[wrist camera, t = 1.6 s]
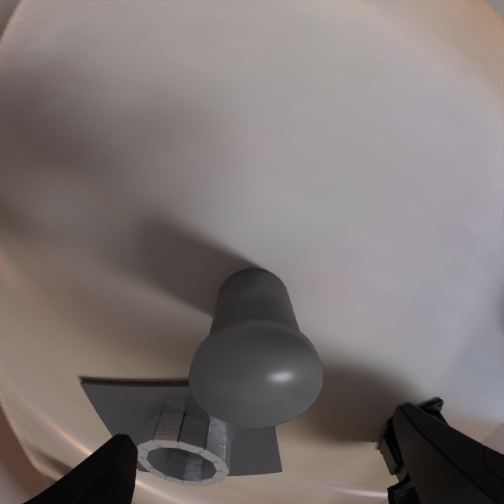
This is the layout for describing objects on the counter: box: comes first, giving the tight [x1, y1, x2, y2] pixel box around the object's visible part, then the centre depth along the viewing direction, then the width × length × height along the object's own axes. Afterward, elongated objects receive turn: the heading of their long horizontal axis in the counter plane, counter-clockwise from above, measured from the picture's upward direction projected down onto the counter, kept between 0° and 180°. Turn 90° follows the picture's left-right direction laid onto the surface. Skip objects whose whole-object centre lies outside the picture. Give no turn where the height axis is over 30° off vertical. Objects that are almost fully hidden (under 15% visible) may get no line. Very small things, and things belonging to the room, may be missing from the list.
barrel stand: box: [80, 380, 282, 486], centre depth 19 cm, size 16×14×4 cm
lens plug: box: [189, 269, 324, 428], centre depth 14 cm, size 5×5×8 cm
